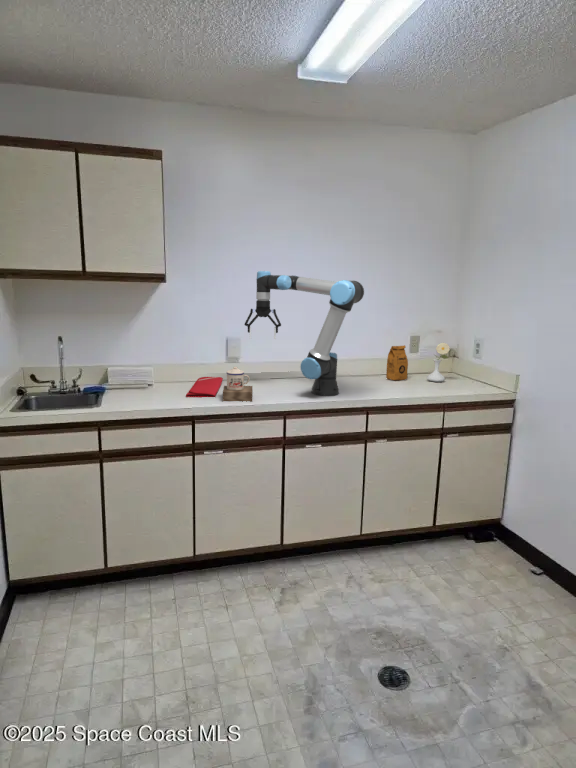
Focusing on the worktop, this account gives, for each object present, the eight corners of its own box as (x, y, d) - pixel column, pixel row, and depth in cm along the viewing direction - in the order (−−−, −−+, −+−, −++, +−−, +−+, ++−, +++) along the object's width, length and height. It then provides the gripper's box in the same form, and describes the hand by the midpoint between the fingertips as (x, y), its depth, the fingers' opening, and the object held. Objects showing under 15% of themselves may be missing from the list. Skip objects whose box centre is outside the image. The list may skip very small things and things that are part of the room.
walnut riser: (252, 395, 275) (252, 385, 274) (252, 401, 260) (252, 392, 259) (224, 394, 274) (224, 385, 273) (222, 401, 259) (222, 391, 258)
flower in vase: (423, 381, 325) (426, 342, 320) (430, 378, 334) (433, 340, 329) (443, 384, 317) (447, 344, 312) (450, 381, 326) (453, 342, 321)
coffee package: (409, 380, 325) (411, 346, 321) (393, 381, 320) (395, 346, 316) (399, 377, 334) (402, 344, 330) (383, 378, 329) (386, 344, 325)
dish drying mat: (185, 398, 266) (185, 391, 266) (197, 382, 306) (197, 376, 306) (215, 398, 267) (215, 391, 266) (223, 382, 307) (223, 376, 306)
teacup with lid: (227, 391, 260) (227, 368, 258) (225, 387, 269) (225, 365, 266) (250, 390, 263) (251, 368, 261) (247, 386, 272) (248, 365, 269)
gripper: (285, 300, 284) (284, 338, 288) (240, 299, 282) (240, 337, 286) (286, 300, 276) (285, 339, 281) (240, 299, 275) (239, 339, 279)
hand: (262, 338), depth 284 cm, fingers open, 13 cm apart
